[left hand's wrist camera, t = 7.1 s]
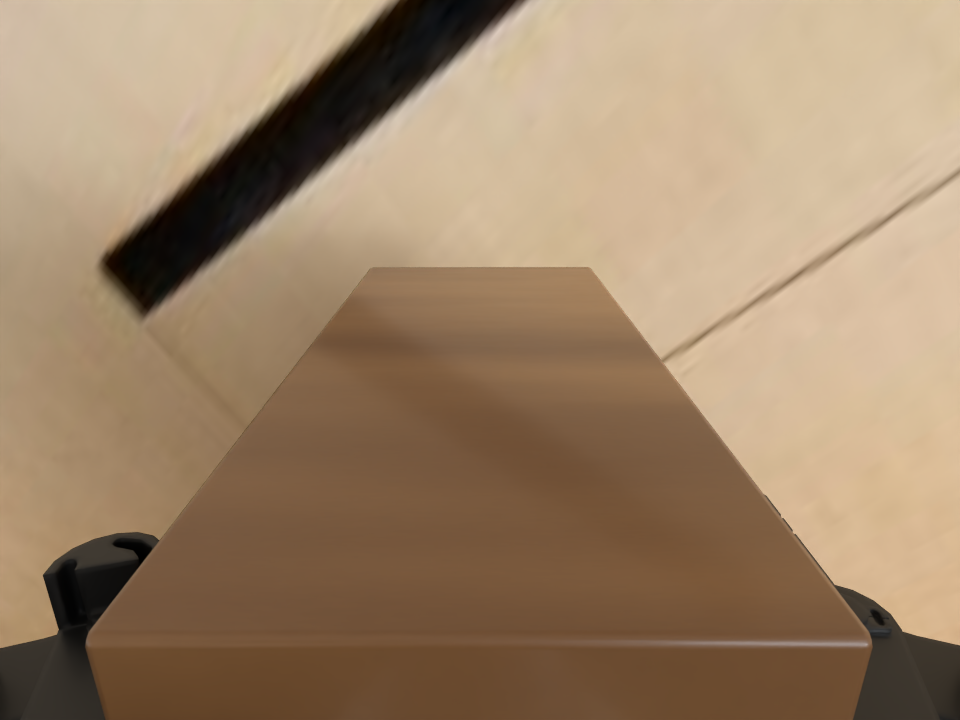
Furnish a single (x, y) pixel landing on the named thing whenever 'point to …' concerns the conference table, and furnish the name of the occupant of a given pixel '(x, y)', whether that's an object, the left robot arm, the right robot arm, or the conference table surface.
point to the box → (479, 535)
